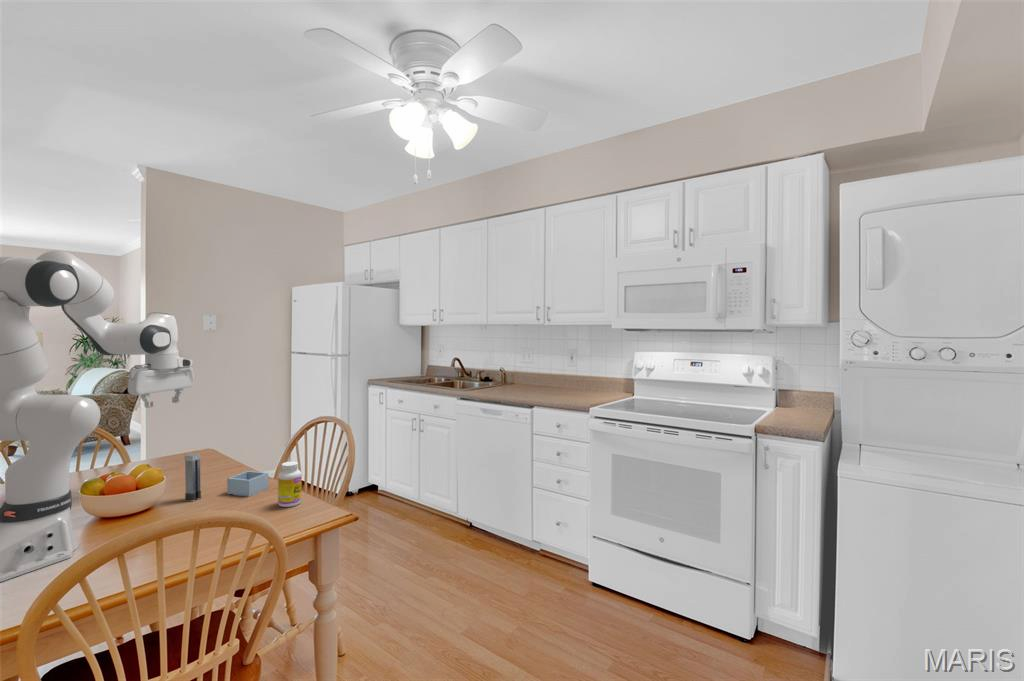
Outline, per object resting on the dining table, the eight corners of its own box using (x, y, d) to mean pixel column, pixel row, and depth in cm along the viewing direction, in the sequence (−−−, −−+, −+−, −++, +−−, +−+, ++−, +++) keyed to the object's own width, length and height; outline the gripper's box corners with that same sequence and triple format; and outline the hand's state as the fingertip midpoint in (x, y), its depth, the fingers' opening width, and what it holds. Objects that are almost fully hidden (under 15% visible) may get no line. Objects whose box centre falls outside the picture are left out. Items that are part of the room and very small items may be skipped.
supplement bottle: (295, 508, 149) (295, 466, 148) (274, 507, 149) (273, 466, 148) (305, 500, 155) (304, 460, 155) (284, 499, 155) (284, 460, 155)
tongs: (192, 501, 153) (192, 456, 152) (185, 500, 154) (184, 455, 153) (201, 498, 156) (200, 453, 155) (193, 497, 156) (193, 453, 156)
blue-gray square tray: (249, 496, 158) (249, 480, 157) (227, 494, 160) (227, 478, 159) (268, 488, 166) (268, 472, 166) (247, 485, 168) (247, 470, 168)
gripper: (137, 366, 146) (138, 411, 147) (197, 360, 166) (197, 400, 167) (121, 365, 148) (122, 410, 148) (182, 359, 167) (183, 399, 168)
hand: (162, 404), depth 158 cm, fingers open, 8 cm apart
